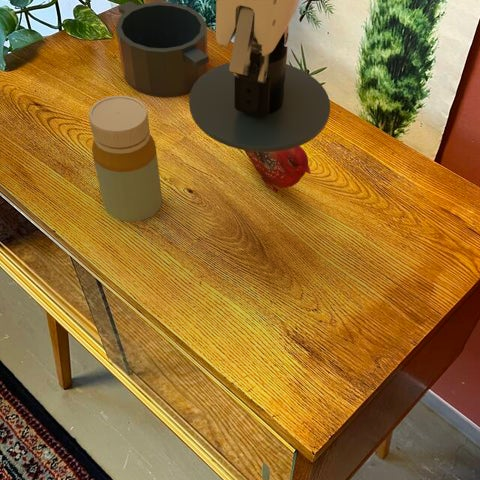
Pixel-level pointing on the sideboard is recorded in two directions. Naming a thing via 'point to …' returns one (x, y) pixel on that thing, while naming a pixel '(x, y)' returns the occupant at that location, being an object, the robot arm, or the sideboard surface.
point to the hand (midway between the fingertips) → (260, 94)
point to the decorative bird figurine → (280, 166)
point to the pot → (162, 47)
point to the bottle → (125, 158)
